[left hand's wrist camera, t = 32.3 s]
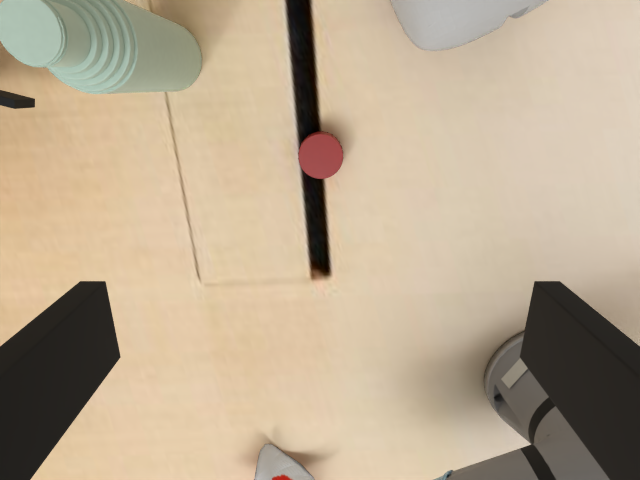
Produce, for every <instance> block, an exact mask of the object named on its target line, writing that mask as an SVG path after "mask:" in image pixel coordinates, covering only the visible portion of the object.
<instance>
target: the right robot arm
mask: <svg viewBox="0 0 640 480" xmlns="http://www.w3.org/2000/svg"><path fill="white" fill-rule="evenodd" d="M0 105H2V106H6V107H10V108H14V109H17V108H31V107H35V99H33V98H29V97H25V96H21V95H18V94H14V93H10V92H6V91H2V90H0Z"/></svg>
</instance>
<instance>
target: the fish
mask: <svg viewBox="0 0 640 480" xmlns="http://www.w3.org/2000/svg"><path fill="white" fill-rule="evenodd" d="M254 480H315V479H314V477H313V476H312V475H311V474H310V473H309V472H308V471H307V470H306V469H305V468H304V467H303V466H302V465H301V464H300V463H299V462H297V461H296V460H294V459H293V458H291V457H290V456H288V455H287V454H285V453H284V452H282V451H281V450H280V449H278V448H277V447H275V446H274V445H272V444H265V445H264V446H263V448H262V449H261V450H260V454H259V457H258V462H257V468H256V473H255V479H254Z"/></svg>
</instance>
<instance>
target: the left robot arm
mask: <svg viewBox="0 0 640 480" xmlns="http://www.w3.org/2000/svg"><path fill="white" fill-rule="evenodd" d="M119 358H120V352H119V347H118V342H117V337H116V332H115V327H114V322H113V317H112V312H111V307H110V302H109V297H108V292H107V287H106V282H105V281H80V282H79V283H78V284H77V285H75V286H74V287H73V288H72V289H70V290H69V291H68V292H67V293H65V294H64V295H63V296H62V297H61V298H59V299H58V300H57V301H56V302H54V303H53V304H52V305H51V306H50V307H48V308H47V309H46V310H45V311H43V312H42V313H41V314H40V315H38V316H37V317H36V318H35V319H34V320H32V321H31V322H30V323H29V324H27V325H26V326H25V327H24V328H22V329H21V330H20V331H19V332H18V333H16V334H15V335H14V336H13V337H11V338H10V339H9V340H8V341H7V342H5V343H4V344H3V345H2V346H0V480H30V479H31V478H32V477H33V475H34V474H35V472H36V471H37V470H38V468H39V467H40V466H41V464H42V463H43V462H44V460H45V459H46V458H47V456H48V455H49V453H50V452H51V451H52V449H53V448H54V447H55V445H56V444H57V443H58V441H59V440H60V438H61V437H62V436H63V434H64V433H65V432H66V430H67V429H68V428H69V426H70V425H71V424H72V422H73V421H74V419H75V418H76V417H77V415H78V414H79V413H80V411H81V410H82V409H83V407H84V406H85V405H86V403H87V402H88V400H89V399H90V398H91V396H92V395H93V394H94V392H95V391H96V390H97V388H98V387H99V386H100V384H101V383H102V381H103V380H104V379H105V377H106V376H107V375H108V373H109V372H110V371H111V369H112V368H113V367H114V365H115V364H116V362H117V361H118V360H119ZM484 387H485V392H486V395H487V397H488V399H489V401H490V403H491V405H492V406H493V408H494V410H495V411H496V412H497V413H498V415H499V416H500V417H501V418H502V419H503V420H504V421H505V422H506V423H507V424H509V425H510V426H511V427H512V428H513V429H514V430H516V431H517V432H518V433H519V434H520V435H521V436H523V437H524V438H525V439H526V440H527V441H528V442H530V443H531V445H529V446H526V447H523V448H520V449H517V450H514V451H511V452H509V453H506V454H503V455H500V456H497V457H494V458H491V459H488V460H485V461H482V462H479V463H476V464H473V465H470V466H467V467H464V468H461V469H458V470H456V471H453V470H450V471H448V472H446V473H445V474H444V476H441V477H439V478H436V479H434V480H640V346H638V345H637V344H636V343H635V342H633V341H632V340H631V339H630V338H629V337H627V336H626V335H625V334H624V333H622V332H621V331H620V330H619V329H618V328H616V327H615V326H614V325H613V324H611V323H610V322H609V321H608V320H606V319H605V318H604V317H603V316H602V315H600V314H599V313H598V312H597V311H595V310H594V309H593V308H592V307H590V306H589V305H588V304H587V303H586V302H584V301H583V300H582V299H581V298H579V297H578V296H577V295H576V294H575V293H573V292H572V291H571V290H570V289H568V288H567V287H566V286H565V285H563V284H562V283H561V282H560V281H535V282H534V287H533V292H532V297H531V302H530V307H529V312H528V317H527V322H526V327H525V331H524V332H522V333H520V334H518V335H516V336H514V337H513V338H511V339H510V340H508V341H507V342H506V343H505V344H503V345H502V346H501V347H500V348H499V349H498V350H497V351H496V353H495V354H494V355H493V357H492V358H491V360H490V362H489V364H488V366H487V369H486V372H485V377H484Z"/></svg>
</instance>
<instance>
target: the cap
mask: <svg viewBox="0 0 640 480" xmlns="http://www.w3.org/2000/svg"><path fill="white" fill-rule="evenodd" d="M299 149H300V150H299V153H298V154H299V158H298V159H299V163H300V165H301V167H302V169H303V170H304V172H305V173H307V174H308V175H309V176H311V177H313V178H318V179H324V178H328V177H330V176H332V175H334V174H335V173H336V172H337V171H338V170H339V168H340V167H341V164H342V161H343V151H342V146H341V145H340V142H339V141H338V140H337V138H336V137H334V136H333V135H331V134H329V133H328V132H323V131H322V132H315V133H312V134H310V135H308V136H307V137H306V138H305V139H304V141H303V142H302V143H301V146H300V148H299Z"/></svg>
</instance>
